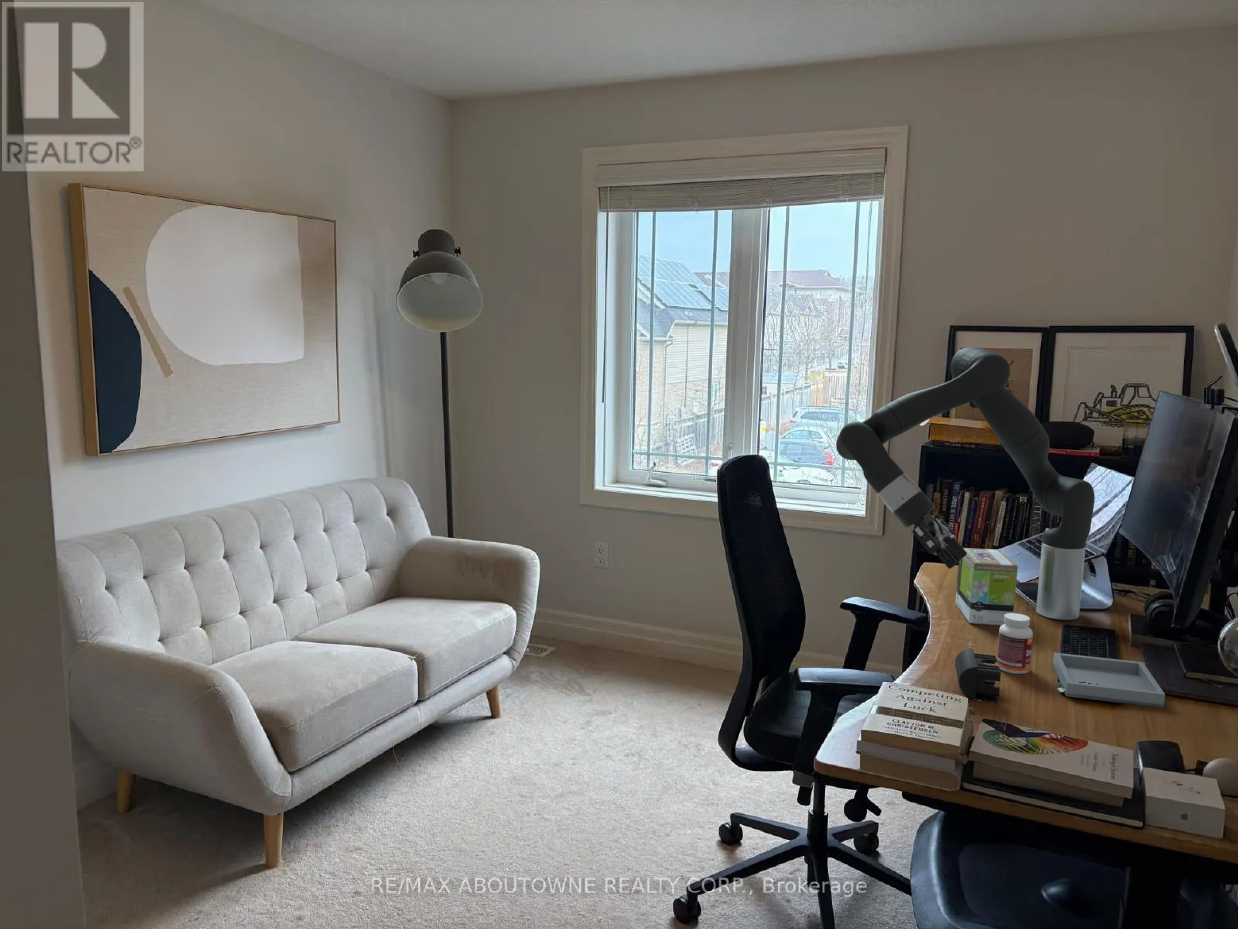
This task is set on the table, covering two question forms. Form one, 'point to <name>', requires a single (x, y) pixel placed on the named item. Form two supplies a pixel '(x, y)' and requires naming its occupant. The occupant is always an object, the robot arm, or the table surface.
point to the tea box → (986, 586)
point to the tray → (1108, 680)
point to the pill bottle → (1015, 644)
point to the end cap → (978, 675)
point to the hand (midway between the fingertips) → (958, 561)
